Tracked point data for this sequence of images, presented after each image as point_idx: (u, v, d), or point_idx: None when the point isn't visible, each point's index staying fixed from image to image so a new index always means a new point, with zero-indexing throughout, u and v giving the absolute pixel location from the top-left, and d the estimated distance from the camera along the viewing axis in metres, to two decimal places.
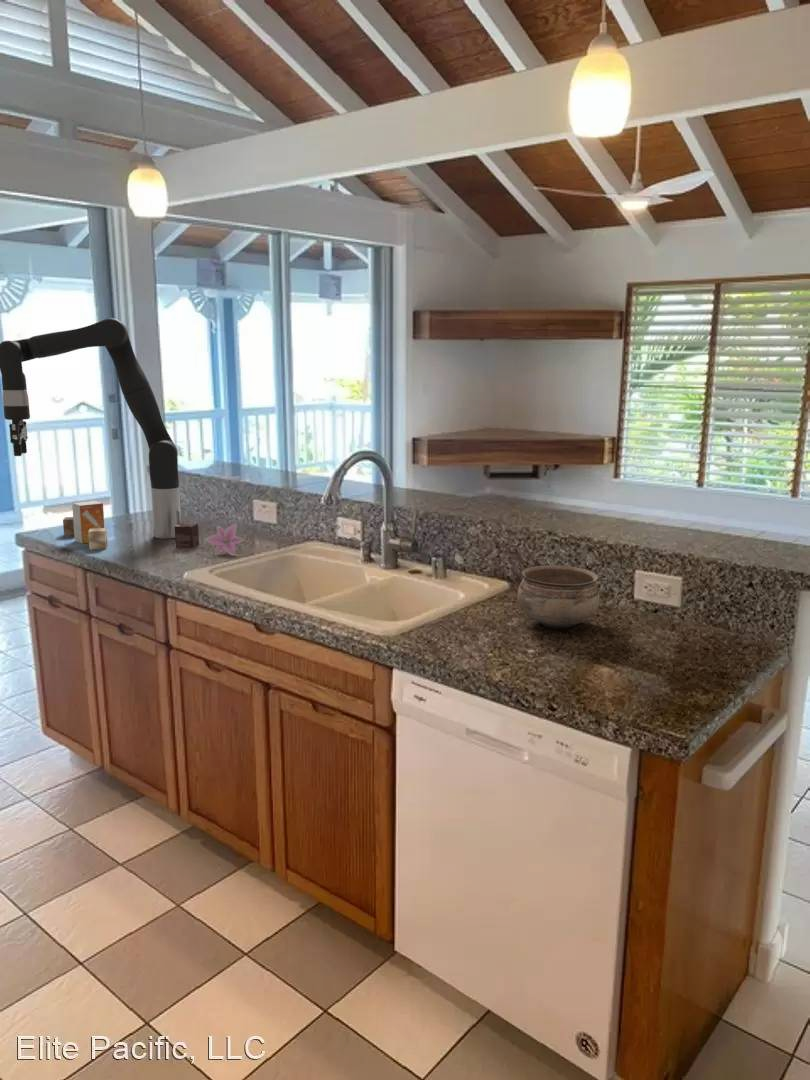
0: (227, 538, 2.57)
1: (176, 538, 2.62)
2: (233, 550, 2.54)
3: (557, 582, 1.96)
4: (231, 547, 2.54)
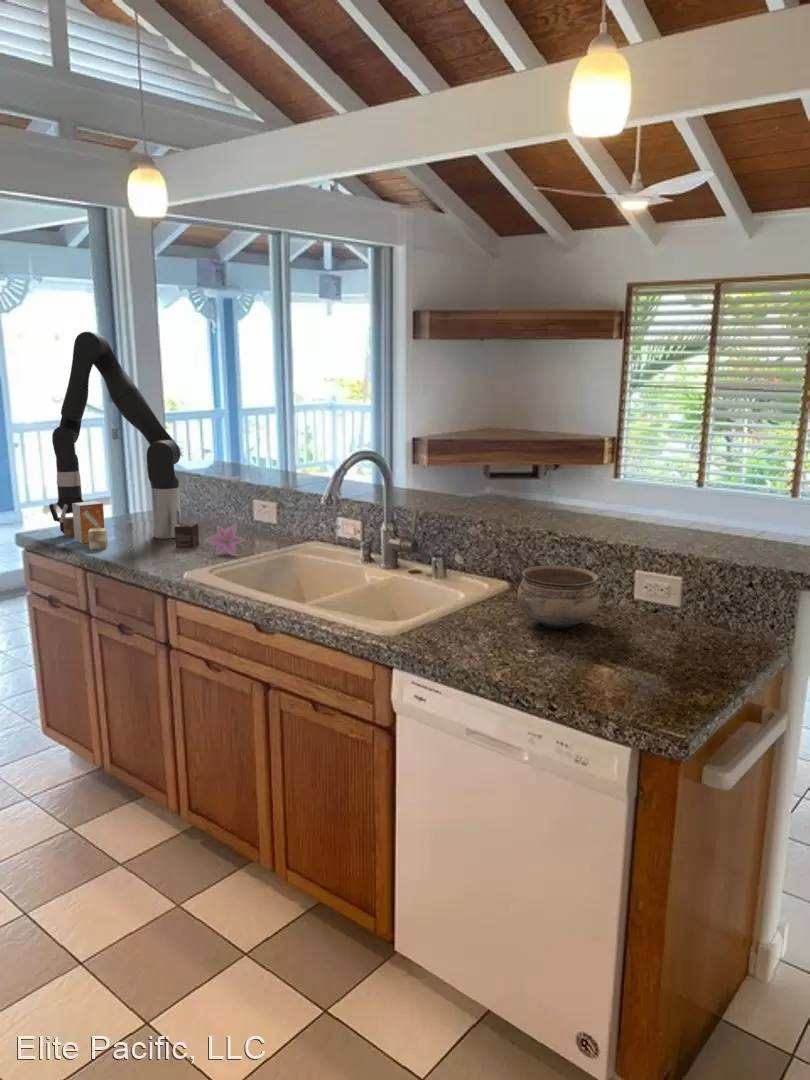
0: (227, 538, 2.56)
1: (176, 538, 2.62)
2: (233, 550, 2.53)
3: (557, 582, 1.96)
4: (232, 547, 2.54)
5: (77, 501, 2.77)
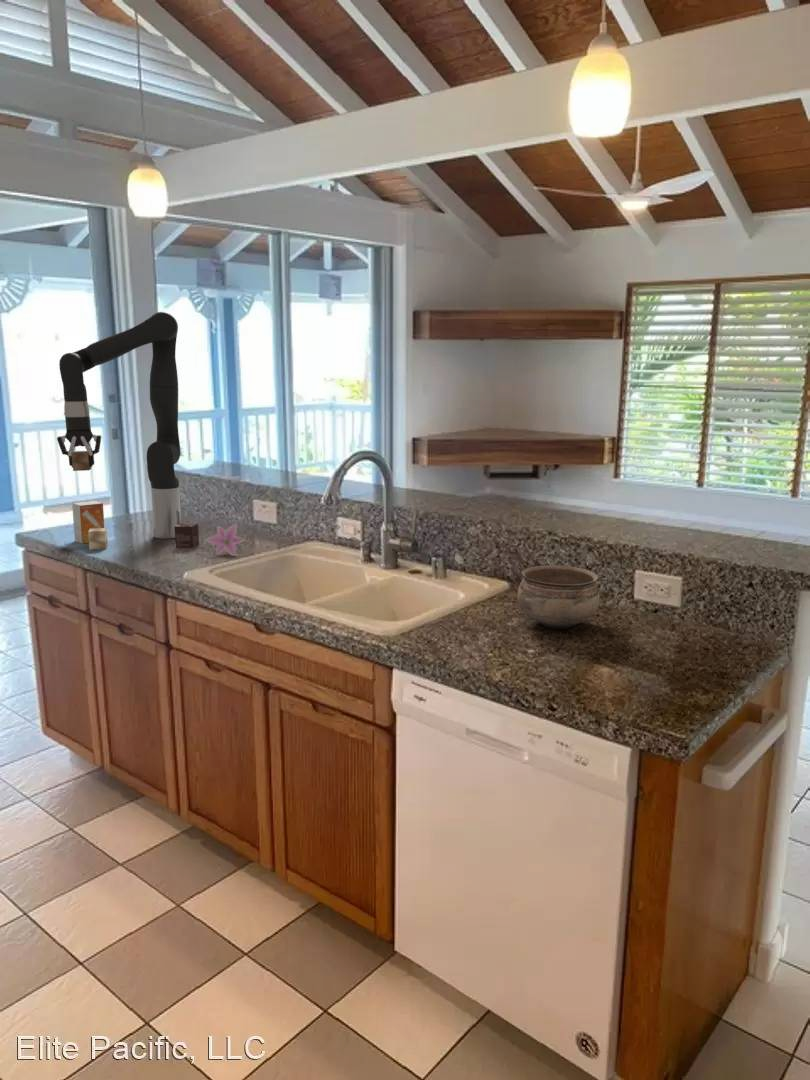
0: (227, 538, 2.56)
1: (176, 538, 2.62)
2: (234, 550, 2.53)
3: (557, 582, 1.96)
4: (232, 547, 2.54)
5: (86, 433, 2.64)
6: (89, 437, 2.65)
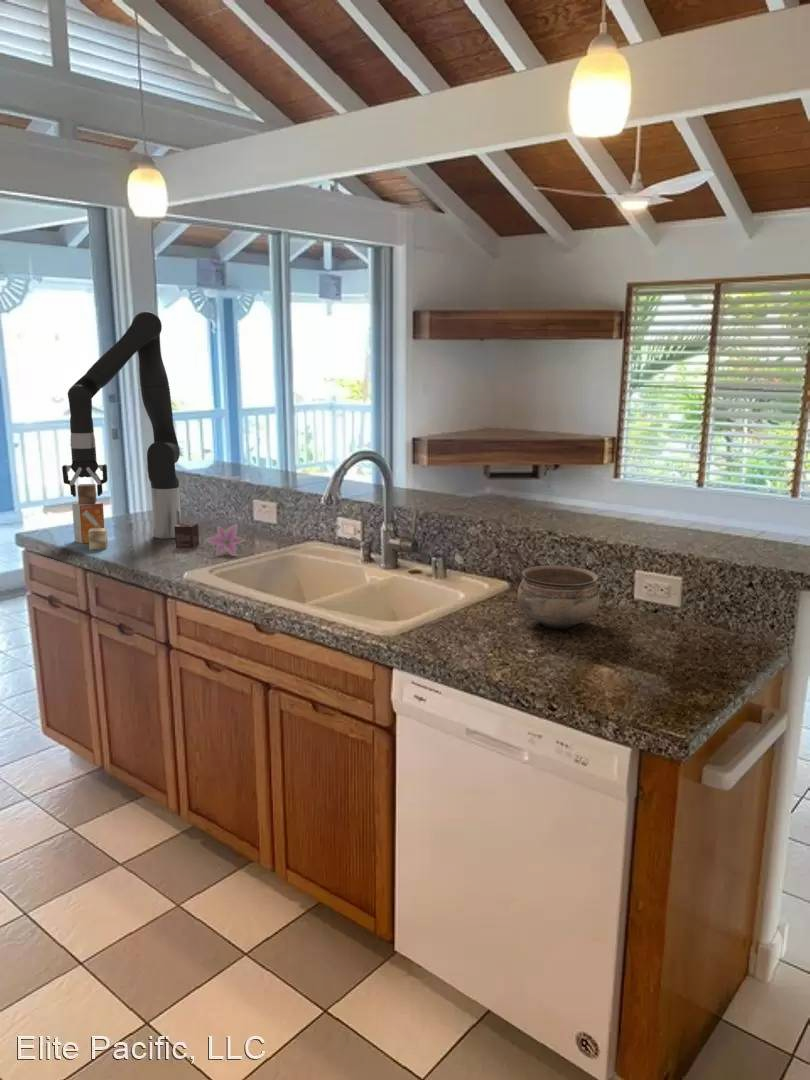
0: (228, 538, 2.56)
1: (176, 538, 2.62)
2: (234, 550, 2.53)
3: (557, 582, 1.96)
4: (232, 547, 2.54)
5: (91, 465, 2.65)
6: (95, 468, 2.65)
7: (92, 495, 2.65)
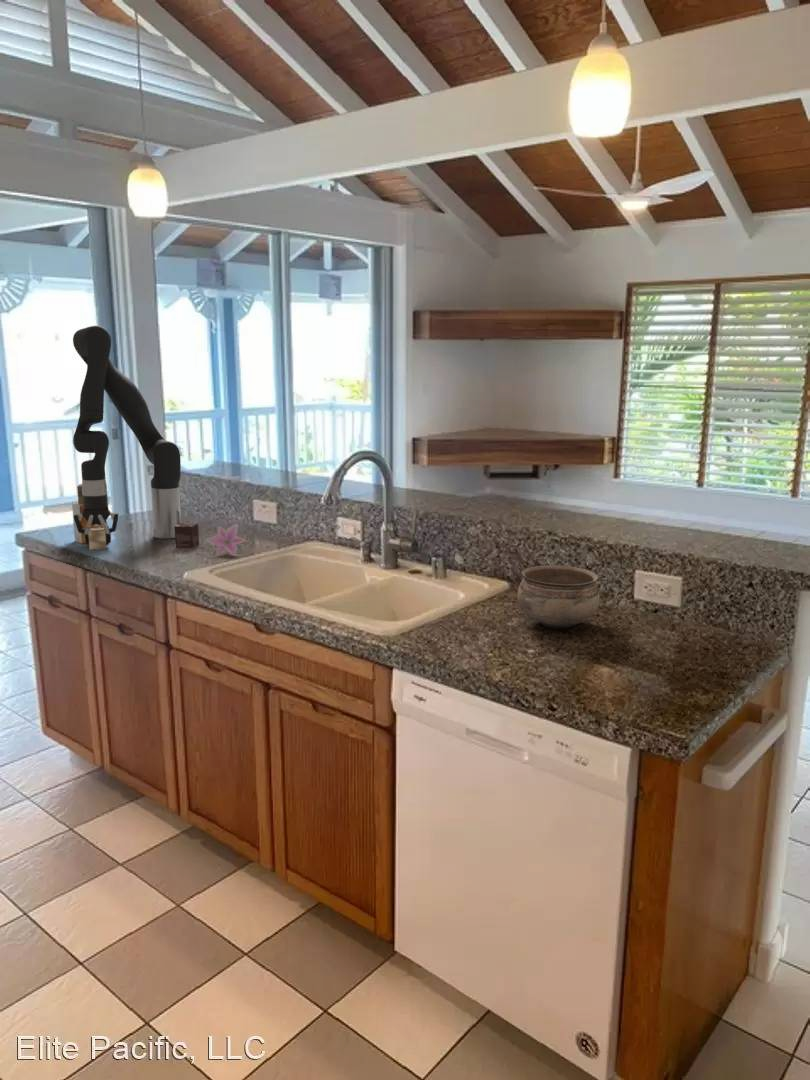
0: (228, 539, 2.56)
1: (176, 538, 2.62)
2: (235, 551, 2.53)
3: (557, 582, 1.96)
4: (233, 547, 2.53)
5: (103, 511, 2.58)
6: (106, 515, 2.59)
7: None
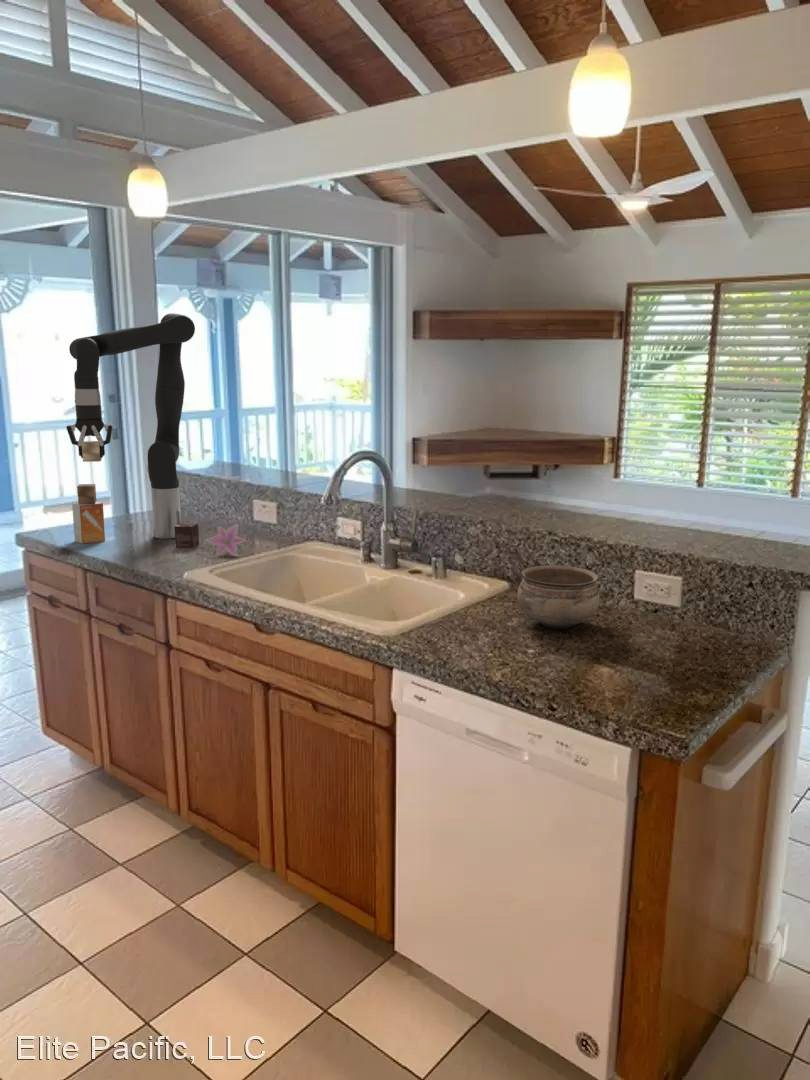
0: (228, 539, 2.56)
1: (176, 538, 2.62)
2: (235, 551, 2.53)
3: (557, 582, 1.96)
4: (233, 547, 2.53)
5: (97, 422, 2.53)
6: (100, 427, 2.53)
7: (92, 495, 2.65)
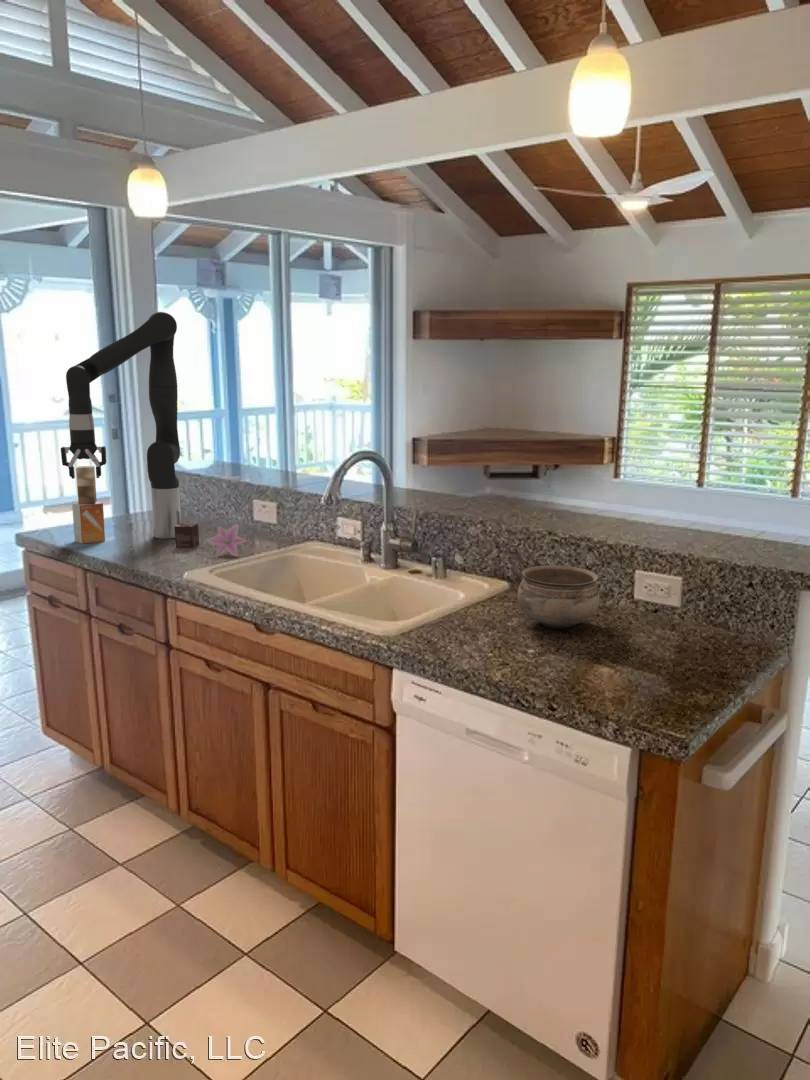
0: (229, 539, 2.56)
1: (176, 538, 2.62)
2: (235, 551, 2.53)
3: (557, 582, 1.96)
4: (233, 548, 2.53)
5: (90, 446, 2.63)
6: (94, 450, 2.64)
7: (92, 495, 2.65)
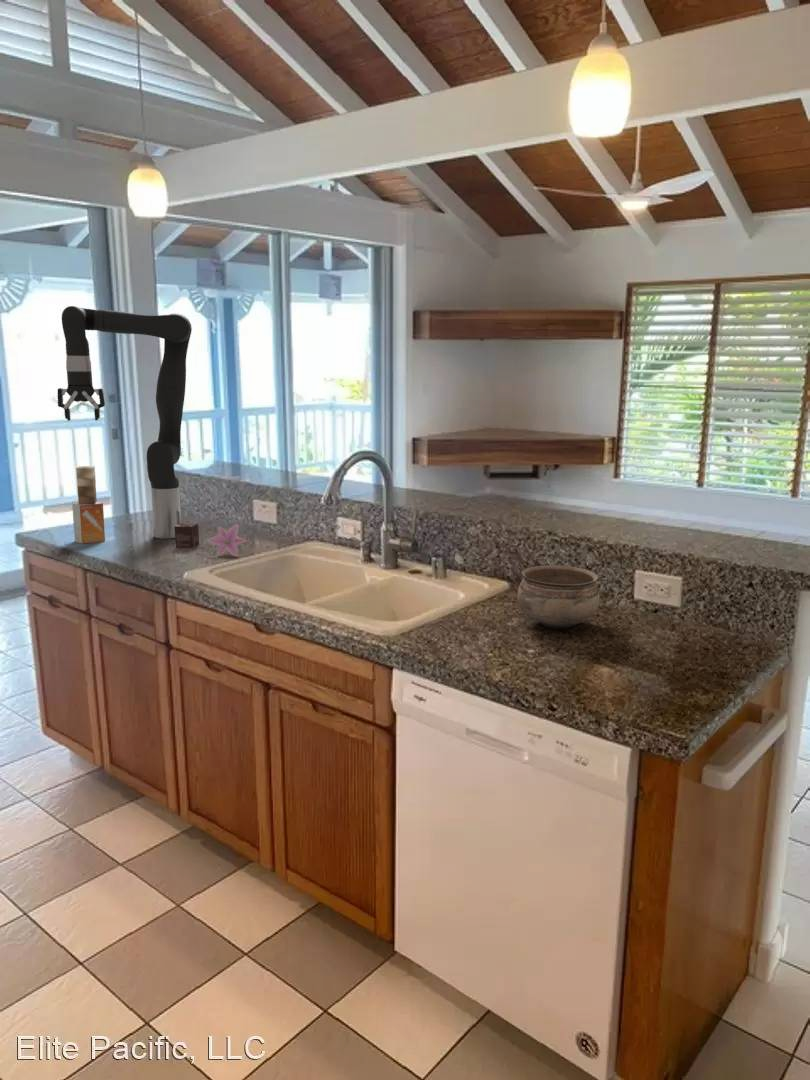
0: (229, 539, 2.55)
1: (176, 538, 2.62)
2: (236, 551, 2.52)
3: (557, 582, 1.96)
4: (234, 548, 2.53)
5: (87, 389, 2.62)
6: (91, 392, 2.63)
7: (92, 495, 2.65)
